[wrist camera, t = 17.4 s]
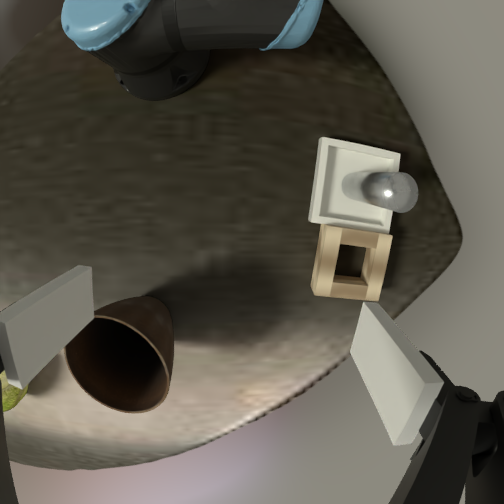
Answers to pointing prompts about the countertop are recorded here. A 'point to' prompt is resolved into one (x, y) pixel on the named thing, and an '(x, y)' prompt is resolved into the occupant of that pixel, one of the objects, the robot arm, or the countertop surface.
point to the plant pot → (125, 355)
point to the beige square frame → (371, 271)
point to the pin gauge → (382, 189)
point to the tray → (330, 179)
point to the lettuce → (10, 393)
